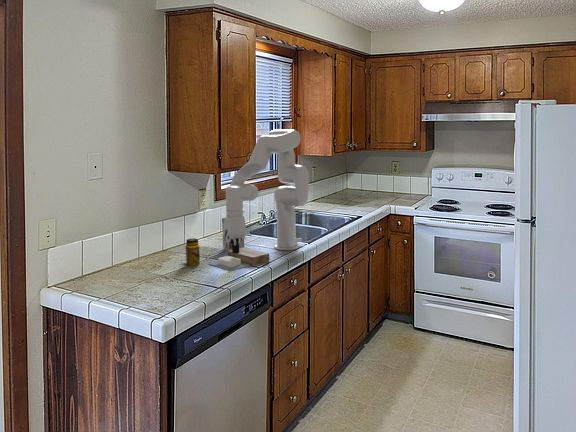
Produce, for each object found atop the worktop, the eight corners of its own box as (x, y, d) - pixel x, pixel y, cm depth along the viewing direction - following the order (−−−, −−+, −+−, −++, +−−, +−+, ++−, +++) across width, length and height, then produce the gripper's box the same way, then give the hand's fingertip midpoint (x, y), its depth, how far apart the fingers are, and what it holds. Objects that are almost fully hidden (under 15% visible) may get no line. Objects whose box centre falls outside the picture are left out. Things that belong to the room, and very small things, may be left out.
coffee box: (238, 246, 284) (237, 216, 281) (244, 248, 279) (243, 217, 276) (222, 249, 278) (221, 218, 275) (229, 251, 273) (228, 219, 270)
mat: (228, 259, 257) (228, 258, 257) (250, 265, 246) (250, 264, 246) (208, 264, 249) (208, 263, 249) (230, 271, 238) (230, 270, 238)
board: (244, 255, 265) (243, 247, 264) (269, 261, 253) (269, 253, 252) (227, 259, 258) (227, 250, 258) (253, 266, 246) (252, 257, 245)
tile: (217, 258, 248) (218, 263, 249) (230, 261, 242) (230, 267, 242) (228, 255, 252) (228, 261, 253) (240, 259, 246) (240, 264, 247)
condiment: (201, 266, 246) (200, 240, 244) (182, 268, 244) (181, 241, 242) (200, 262, 253) (199, 237, 251) (181, 263, 251) (180, 238, 249)
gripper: (242, 210, 254) (242, 248, 257) (216, 214, 244) (217, 254, 247) (252, 212, 249) (253, 251, 252) (226, 216, 238) (228, 257, 242)
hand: (235, 252), depth 249 cm, fingers closed
